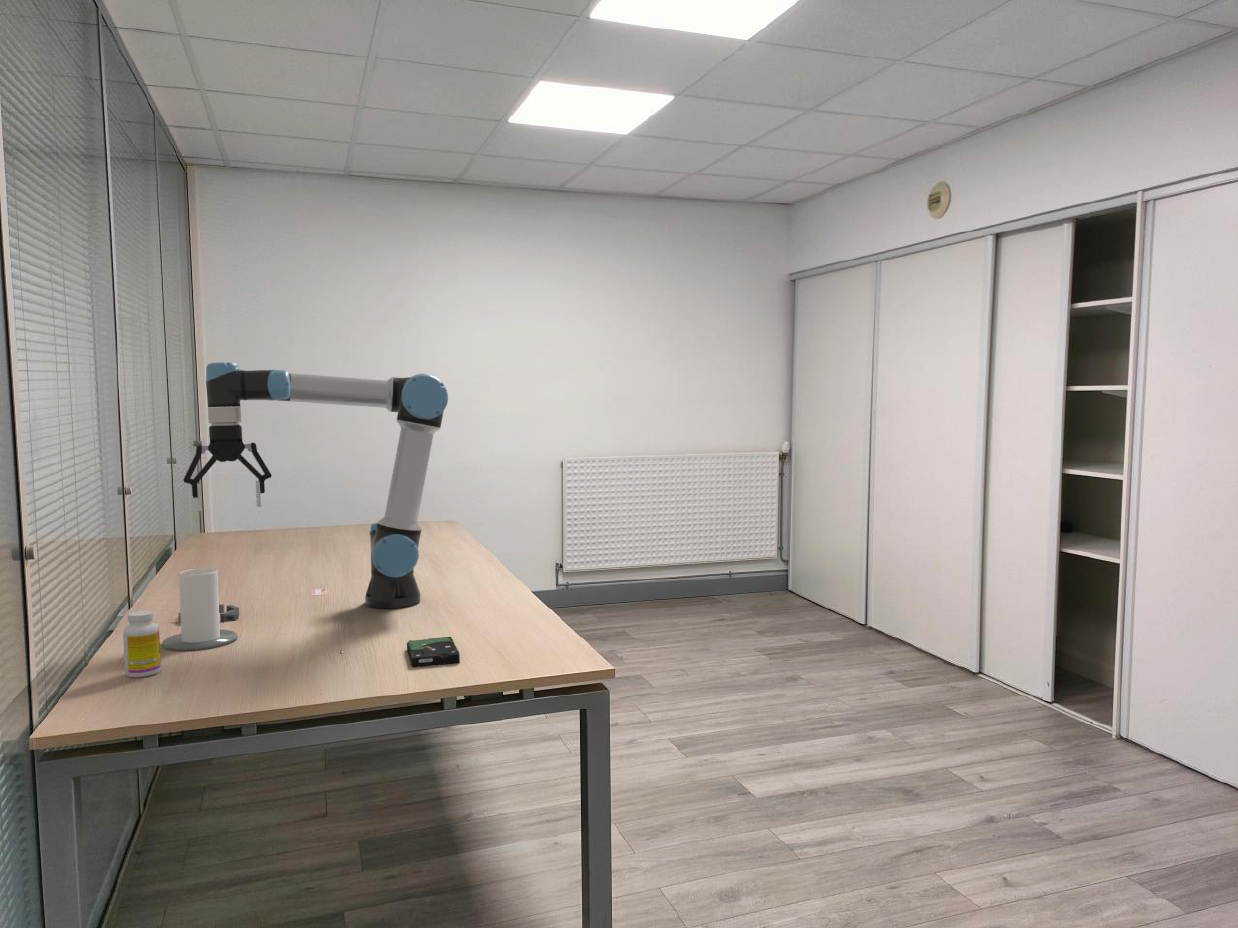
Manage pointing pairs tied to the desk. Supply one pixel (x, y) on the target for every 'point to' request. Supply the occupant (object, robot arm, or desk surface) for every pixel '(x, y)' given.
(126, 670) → the supplement bottle
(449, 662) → the disk drive
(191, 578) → the cup
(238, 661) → the desk surface
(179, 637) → the coaster
